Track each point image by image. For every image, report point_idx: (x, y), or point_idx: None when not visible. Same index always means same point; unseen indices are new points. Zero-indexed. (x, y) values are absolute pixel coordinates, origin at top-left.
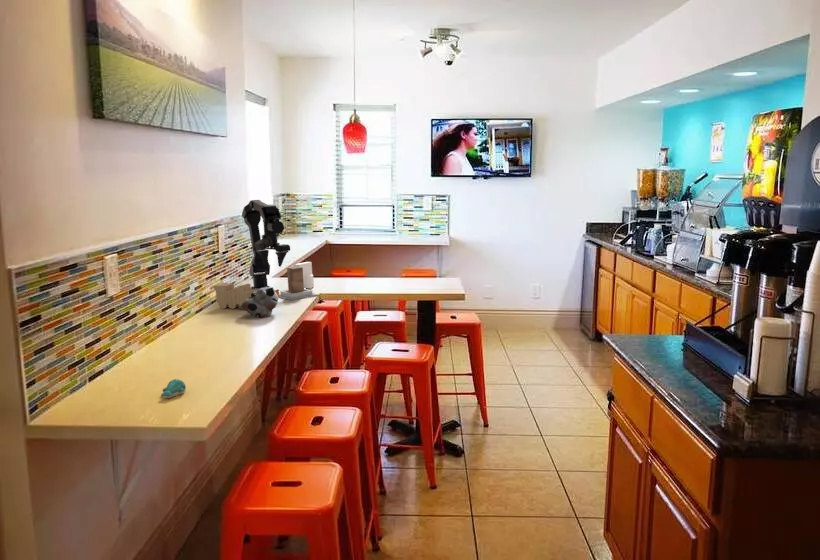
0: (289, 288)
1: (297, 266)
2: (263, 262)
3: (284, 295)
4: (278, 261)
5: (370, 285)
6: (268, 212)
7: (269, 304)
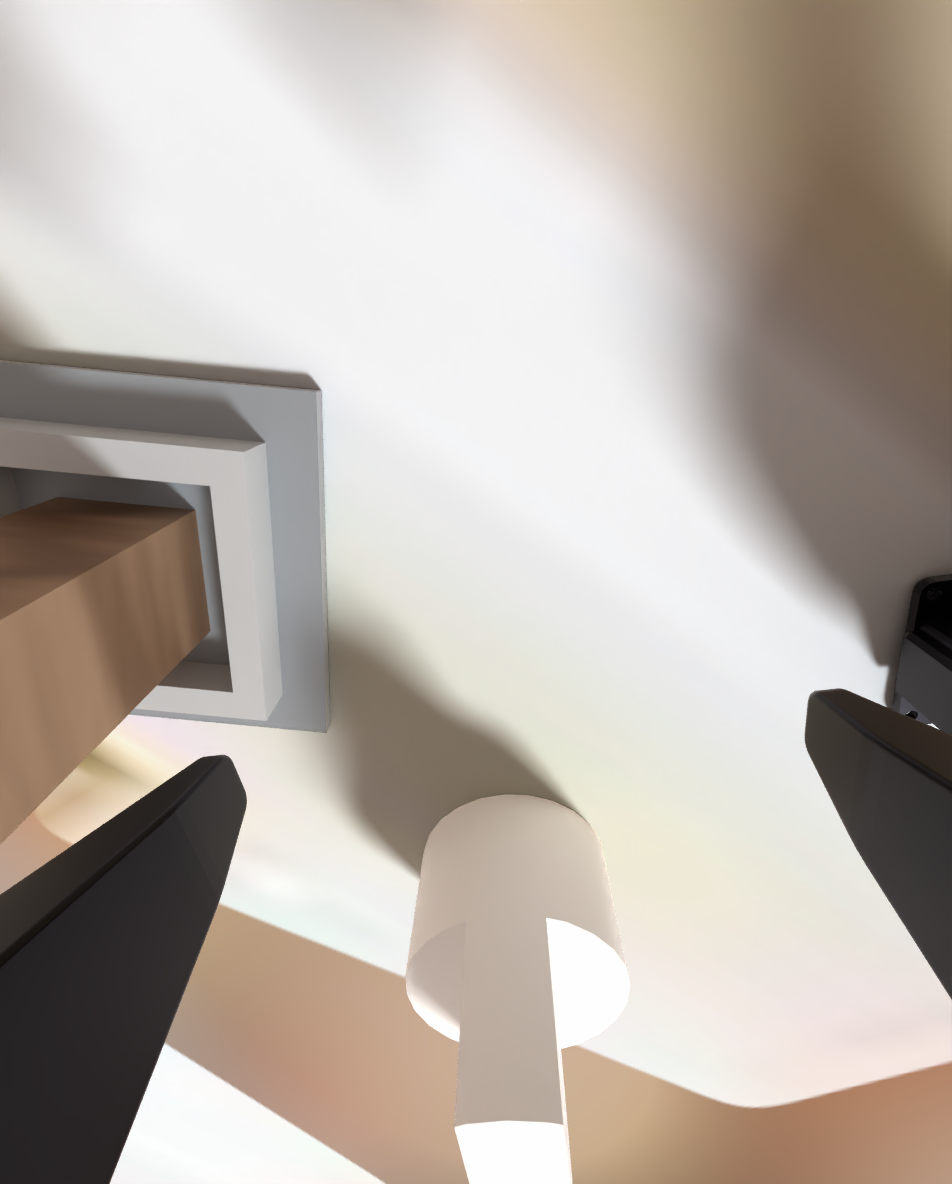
0: (116, 535)
1: (485, 1080)
2: (936, 729)
3: (160, 434)
4: (74, 865)
5: (158, 1084)
6: None
7: None
